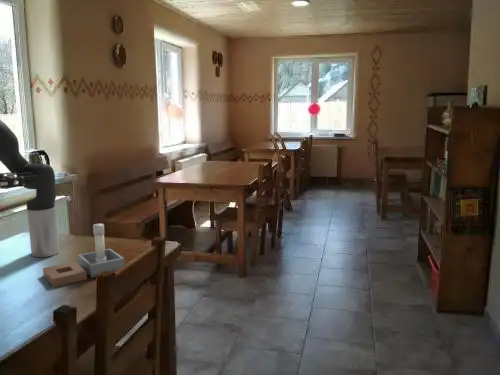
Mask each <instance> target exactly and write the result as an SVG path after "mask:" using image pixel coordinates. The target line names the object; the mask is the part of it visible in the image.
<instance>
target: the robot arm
mask: <svg viewBox="0 0 500 375" xmlns="http://www.w3.org/2000/svg"><path fill="white" fill-rule="evenodd" d="M0 162H1V163H2V164H3V165H4V166H5V168H7V170H8V171H9V172H0V189H8V188H18V187H21V188H22V187H23V188H24V189H27V190H35V193H36V194H35V197H33V198H31V199H29V200H27V201H26V204H25V205H26V214H27V223H28V231H29V232H28V233H29V243H30V251H31V256H32V257H34V258H46V257H51V256H55V255H57V254H58V253H59V252H60V250H59V248H60V247H59V238H58V226H57V217H56V214H57V213H56V207H55V203H56V198H57V196H56V195H57V194H56V191H57V188H56V173H55V171H54V168H53V167H52V166H51V165H50V164H47V163H31V162H29V160H27V159H26V158H25V157H24V156H23V155H22V154H21V151H20V146H19V139H18V137H17V136H16V134H15V132H13V131H12V129H11V128H10V127H9V126H8V125H7V124H6V123H5V122H4V121H2V120H1V119H0Z"/></svg>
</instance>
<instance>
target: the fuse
mask: <svg viewBox="0 0 500 375" xmlns="http://www.w3.org/2000/svg"><path fill="white" fill-rule="evenodd" d="M92 231H93V235H94V247H95V251H94V252H96V257H95V260H96V263H100V262H105V261H106V256H105V250H106V246H105V224H104V223H94V224H93V225H92Z"/></svg>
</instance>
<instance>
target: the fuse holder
mask: <svg viewBox="0 0 500 375" xmlns="http://www.w3.org/2000/svg"><path fill="white" fill-rule="evenodd" d="M42 274H43V277H44V278H45V279H46V280H47V282H48V283H49V284H50V285H51V286H52V287H53V288H55V287H60V286H63V285H68V284H73V283H76V282H81V281H86V280H88V274H87V272H86V271H85V270H84V269H83V268H82V267H81V266H80V265H79V263H78V262H76V261H71V262H66V263H61V264H60V263H59V264H57V265H50V266H46V267H43V268H42Z"/></svg>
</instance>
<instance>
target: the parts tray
mask: <svg viewBox="0 0 500 375" xmlns="http://www.w3.org/2000/svg"><path fill="white" fill-rule="evenodd" d="M105 256H106V261H105V262H100V263H96V260H95V257H96V251H92V252H87V253H83V254H82V253H81V254H78V255H77V257H78V258H77V260H78V264H79V265H80V266H81V267H82V268H83V269H84V270H85V271H86V272H87V276H89V277H90V278H96V277H97V276H96V275H98V274H99V273H101V272H103V271H116V270H117V269H119V268H120V267H122V266H124V265H125V264H126V263H125V261H126V260H125V257H123V256H122V255H121V254H119V253H118V252H116V251H114V250H113V249H112V248H105ZM125 266H126V265H125Z"/></svg>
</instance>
